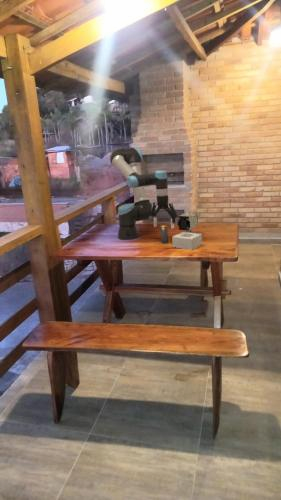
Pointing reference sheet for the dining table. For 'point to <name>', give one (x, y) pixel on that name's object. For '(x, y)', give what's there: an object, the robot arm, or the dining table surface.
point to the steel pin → (164, 234)
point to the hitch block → (187, 240)
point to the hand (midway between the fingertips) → (164, 227)
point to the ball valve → (188, 221)
